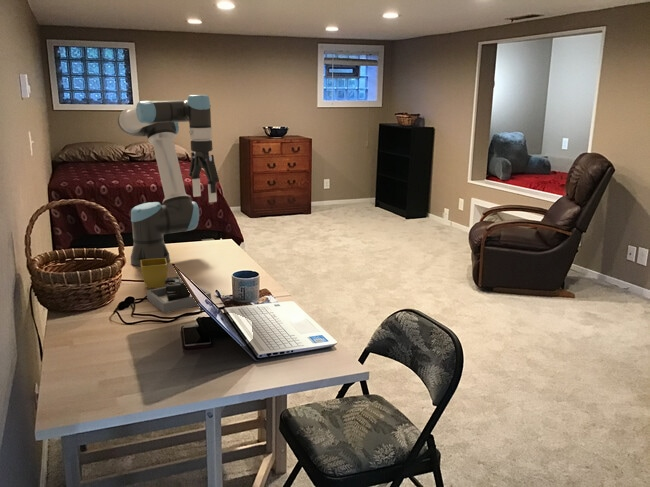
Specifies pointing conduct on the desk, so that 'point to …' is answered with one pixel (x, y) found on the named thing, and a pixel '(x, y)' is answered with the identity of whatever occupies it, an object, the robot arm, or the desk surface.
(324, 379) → the desk surface
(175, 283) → the end cap
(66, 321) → the desk surface
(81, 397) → the desk surface
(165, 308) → the holder tray
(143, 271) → the flower pot
